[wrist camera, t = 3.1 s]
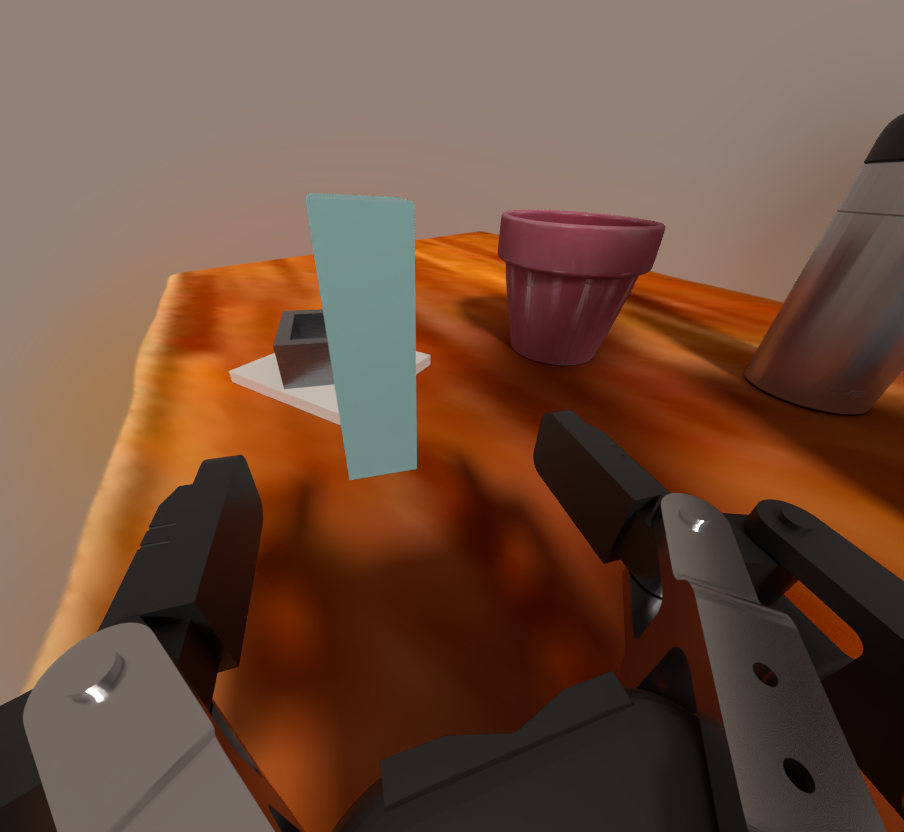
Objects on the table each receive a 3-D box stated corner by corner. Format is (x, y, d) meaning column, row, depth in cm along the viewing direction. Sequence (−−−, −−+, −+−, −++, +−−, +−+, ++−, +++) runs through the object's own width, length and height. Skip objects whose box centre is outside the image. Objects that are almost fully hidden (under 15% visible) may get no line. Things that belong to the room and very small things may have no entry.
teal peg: (345, 439, 24) (308, 193, 16) (404, 431, 25) (397, 197, 17) (349, 480, 20) (305, 197, 13) (416, 468, 21) (414, 202, 14)
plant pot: (554, 392, 30) (595, 225, 23) (462, 338, 40) (470, 208, 33) (646, 359, 37) (700, 223, 30) (549, 320, 47) (572, 209, 40)
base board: (335, 338, 38) (334, 329, 37) (430, 364, 34) (430, 355, 33) (232, 382, 29) (228, 371, 28) (342, 426, 25) (341, 414, 24)
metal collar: (291, 348, 33) (283, 311, 31) (377, 342, 35) (374, 307, 33) (283, 389, 27) (273, 345, 25) (389, 379, 29) (387, 338, 27)
